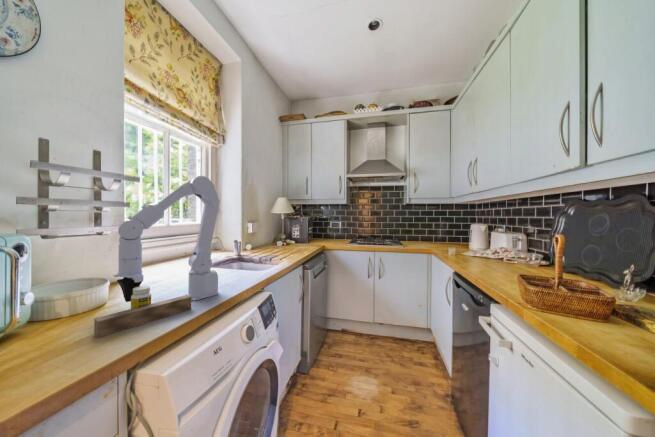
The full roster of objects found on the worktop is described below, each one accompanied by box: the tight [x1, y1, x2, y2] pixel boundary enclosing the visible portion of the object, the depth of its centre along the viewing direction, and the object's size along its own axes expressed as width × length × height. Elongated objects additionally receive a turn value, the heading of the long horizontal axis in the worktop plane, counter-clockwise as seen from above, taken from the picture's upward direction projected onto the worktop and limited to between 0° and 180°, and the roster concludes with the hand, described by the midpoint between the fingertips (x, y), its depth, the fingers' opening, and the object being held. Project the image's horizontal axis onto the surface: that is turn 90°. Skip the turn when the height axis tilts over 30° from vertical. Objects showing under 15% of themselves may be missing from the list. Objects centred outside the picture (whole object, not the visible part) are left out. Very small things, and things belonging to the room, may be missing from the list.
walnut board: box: [93, 294, 192, 339], centre depth 67 cm, size 22×3×4 cm, turn 147°
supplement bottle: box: [130, 285, 152, 309], centre depth 70 cm, size 5×5×8 cm
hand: (130, 300), depth 75 cm, fingers closed
